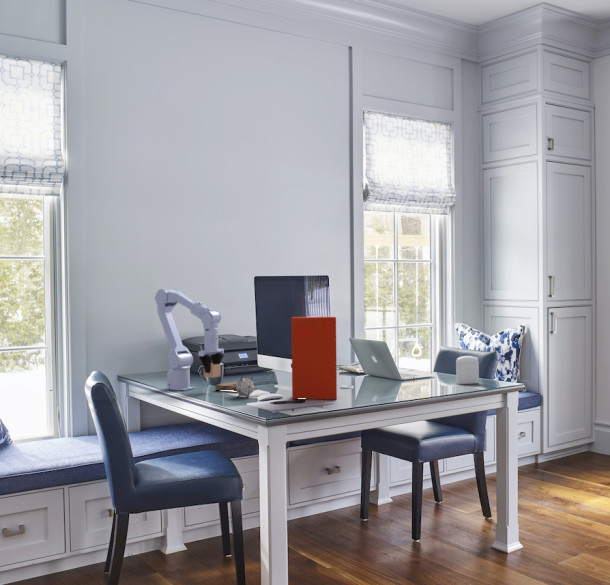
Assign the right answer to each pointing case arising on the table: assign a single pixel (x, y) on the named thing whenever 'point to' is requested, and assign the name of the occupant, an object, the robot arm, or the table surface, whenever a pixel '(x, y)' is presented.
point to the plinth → (227, 386)
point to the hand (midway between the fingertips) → (211, 371)
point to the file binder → (314, 358)
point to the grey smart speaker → (467, 370)
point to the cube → (214, 371)
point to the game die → (245, 387)
